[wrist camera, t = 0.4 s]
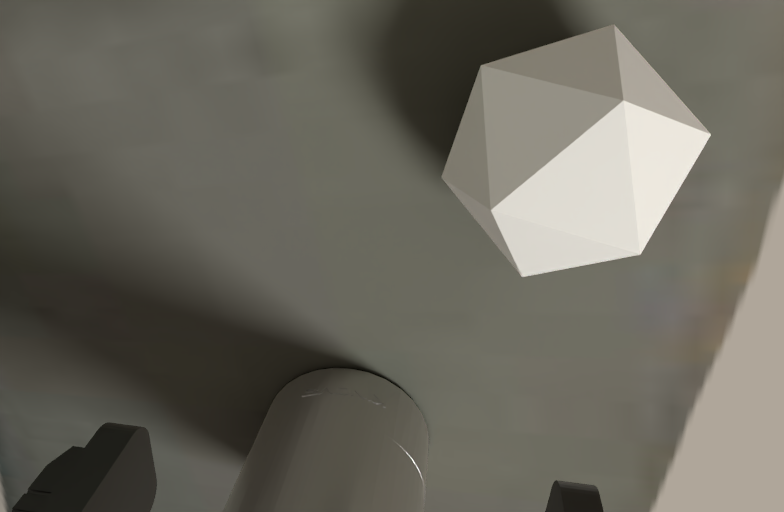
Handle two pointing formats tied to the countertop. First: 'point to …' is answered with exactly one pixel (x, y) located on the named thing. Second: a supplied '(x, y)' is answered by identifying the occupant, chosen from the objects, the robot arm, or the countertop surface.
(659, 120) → the die
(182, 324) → the countertop surface
